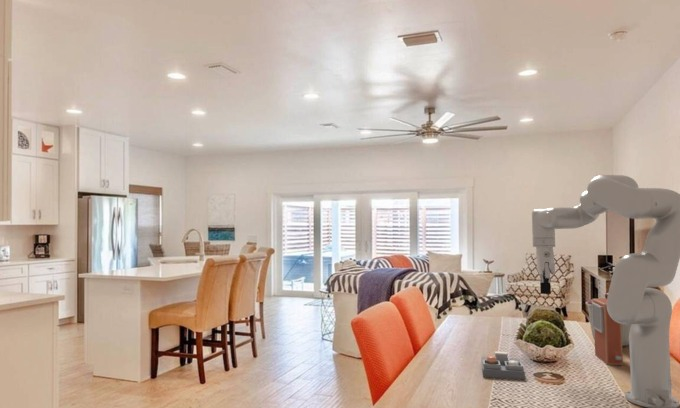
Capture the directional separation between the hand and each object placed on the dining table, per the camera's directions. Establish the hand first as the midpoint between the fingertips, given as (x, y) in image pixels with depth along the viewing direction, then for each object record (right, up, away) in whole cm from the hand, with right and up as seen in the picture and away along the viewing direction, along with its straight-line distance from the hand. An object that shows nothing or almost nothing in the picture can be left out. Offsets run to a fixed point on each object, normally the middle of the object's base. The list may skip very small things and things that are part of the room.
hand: (545, 293), depth 169 cm
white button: (-16, -22, -13) cm, 30 cm away
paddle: (-18, -23, -7) cm, 30 cm away
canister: (+39, -26, +26) cm, 53 cm away
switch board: (-19, -25, -9) cm, 33 cm away
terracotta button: (-23, -21, -11) cm, 33 cm away
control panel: (+24, -25, +3) cm, 35 cm away
